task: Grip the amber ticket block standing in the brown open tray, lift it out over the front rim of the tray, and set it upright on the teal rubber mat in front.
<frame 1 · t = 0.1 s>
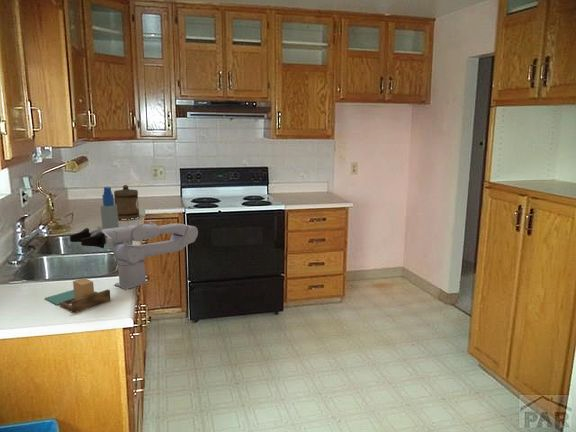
hand: (76, 240, 155), 22 cm above the worktop, tool horizontal, fingers open, 7 cm apart
spray bottle: (110, 229, 266), on the worktop
wooden container: (127, 218, 297), on the worktop
mat: (70, 296, 163), on the worktop
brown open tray: (85, 303, 157), on the worktop
ticket block: (85, 303, 157), resting in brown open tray
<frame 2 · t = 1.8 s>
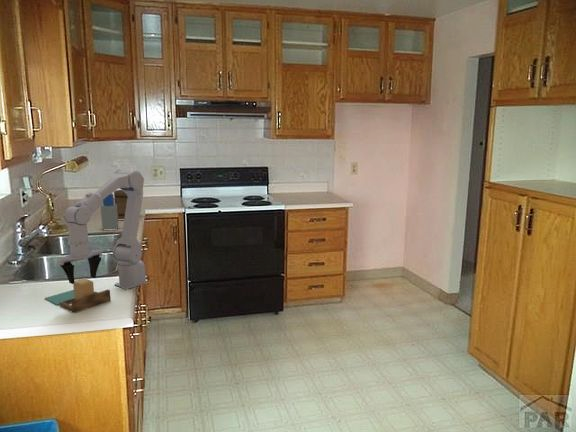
hand: (82, 280, 155), 8 cm above the worktop, tool pointing down, fingers open, 7 cm apart
nothing on the worktop moved.
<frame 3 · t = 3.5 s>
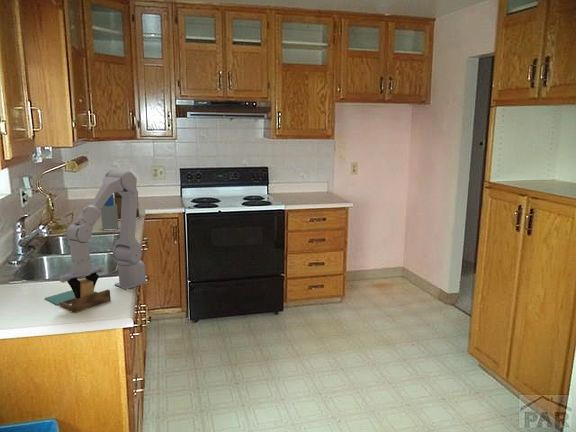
hand: (84, 296, 156), 2 cm above the worktop, tool pointing down, fingers closed on ticket block, 4 cm apart
ticket block: (85, 303, 157), resting in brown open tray, touching gripper
everything else where it was.
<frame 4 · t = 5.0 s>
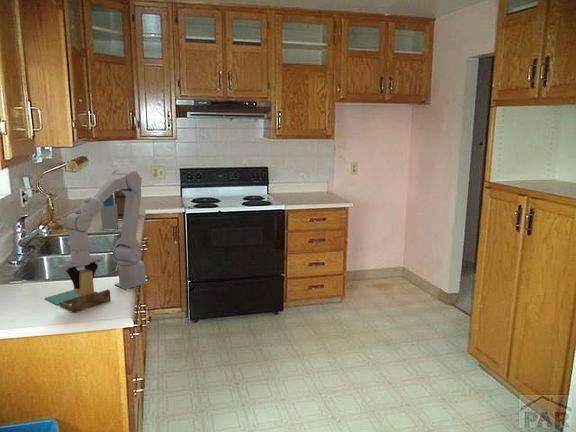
hand: (83, 286, 156), 6 cm above the worktop, tool pointing down, fingers closed on ticket block, 4 cm apart
ticket block: (84, 292, 156), point 4 cm above the worktop, touching gripper
everything else where it was.
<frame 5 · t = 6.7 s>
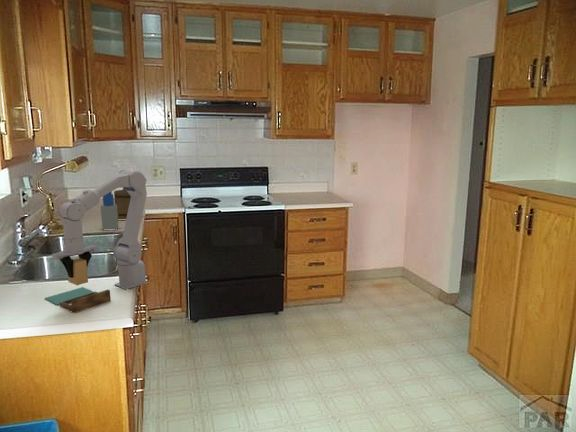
hand: (77, 275, 157), 9 cm above the worktop, tool pointing down, fingers closed on ticket block, 4 cm apart
ticket block: (78, 281, 157), point 7 cm above the worktop, touching gripper
everything else where it was.
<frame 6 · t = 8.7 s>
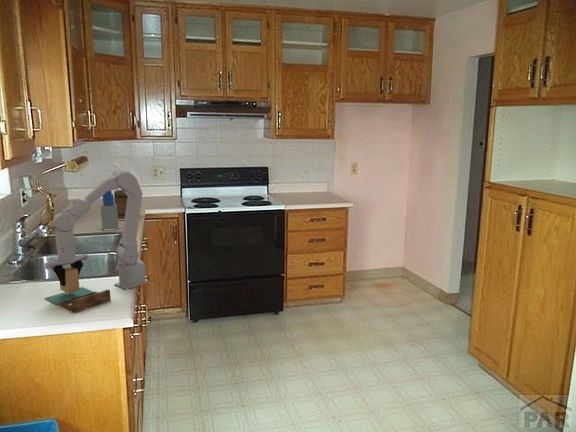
hand: (69, 283, 162), 5 cm above the worktop, tool pointing down, fingers closed on ticket block, 4 cm apart
ticket block: (70, 289, 162), point 2 cm above the worktop, touching gripper
everything else where it was.
when the fingers open (4 cm above the worktop, at t = 10.1 s): ticket block stays where it is, resting on mat.
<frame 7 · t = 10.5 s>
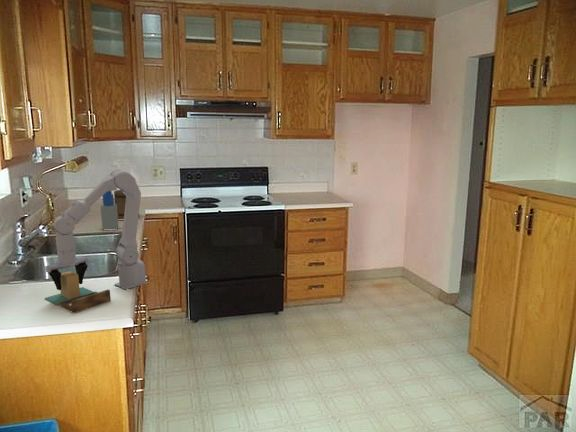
hand: (69, 286, 162), 4 cm above the worktop, tool pointing down, fingers open, 7 cm apart
ticket block: (70, 295, 163), resting on mat
everything else where it was.
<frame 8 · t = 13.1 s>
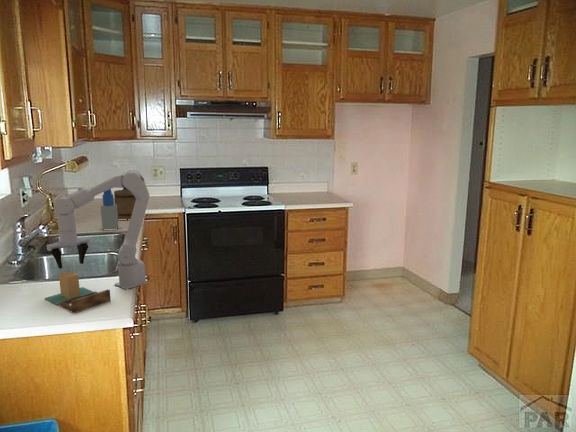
hand: (71, 265, 168), 9 cm above the worktop, tool pointing down, fingers open, 7 cm apart
nothing on the worktop moved.
at the end: ticket block inside the target area (0.0 cm from its centre), resting on mat; ticket block tilted 0°; the gripper is holding nothing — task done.
